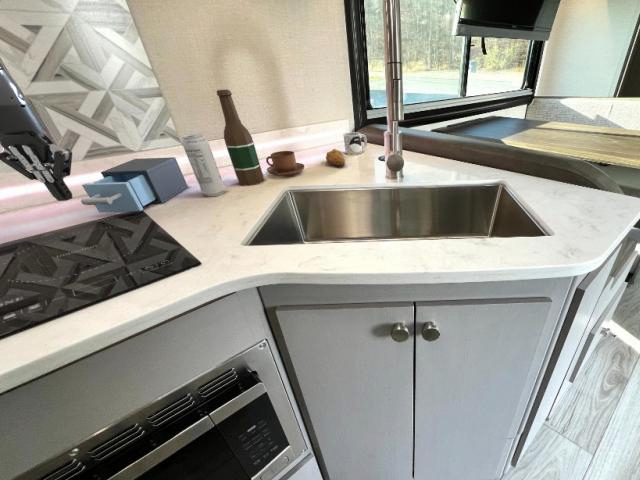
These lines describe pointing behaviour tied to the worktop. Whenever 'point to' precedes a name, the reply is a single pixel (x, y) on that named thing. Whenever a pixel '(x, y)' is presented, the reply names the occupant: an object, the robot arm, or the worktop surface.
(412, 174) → the worktop surface
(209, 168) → the energy drink can
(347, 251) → the worktop surface
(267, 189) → the worktop surface
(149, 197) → the light blue drawer
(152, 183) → the blue drawer box
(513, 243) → the worktop surface
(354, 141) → the mug
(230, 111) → the beer bottle
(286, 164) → the cup and saucer
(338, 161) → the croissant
